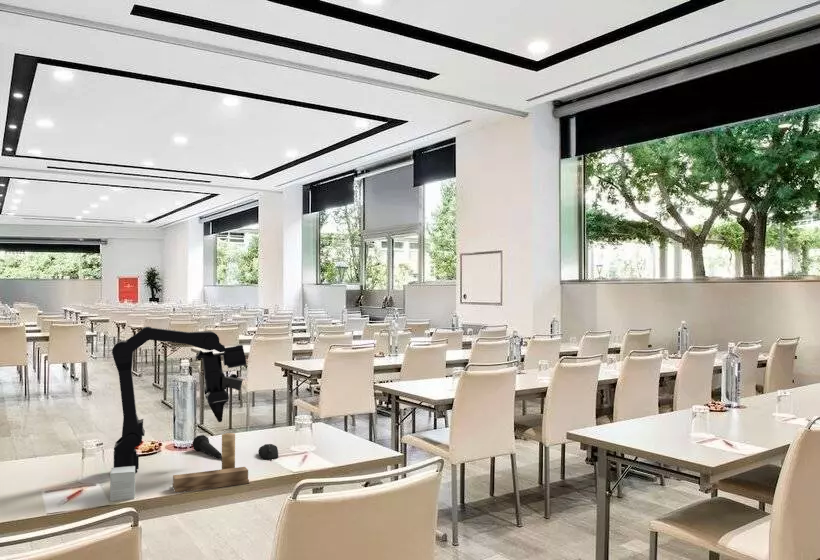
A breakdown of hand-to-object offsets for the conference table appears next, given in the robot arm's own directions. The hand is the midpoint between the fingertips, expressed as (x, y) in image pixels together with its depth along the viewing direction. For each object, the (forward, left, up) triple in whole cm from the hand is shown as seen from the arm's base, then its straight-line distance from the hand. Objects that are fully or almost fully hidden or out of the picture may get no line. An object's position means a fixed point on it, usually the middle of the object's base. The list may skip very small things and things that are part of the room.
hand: (219, 419), depth 210 cm
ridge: (-6, -22, -14) cm, 27 cm away
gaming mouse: (+17, +2, -15) cm, 22 cm away
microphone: (-1, +13, -15) cm, 19 cm away
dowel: (0, -16, -14) cm, 21 cm away
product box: (-29, -22, -14) cm, 39 cm away
